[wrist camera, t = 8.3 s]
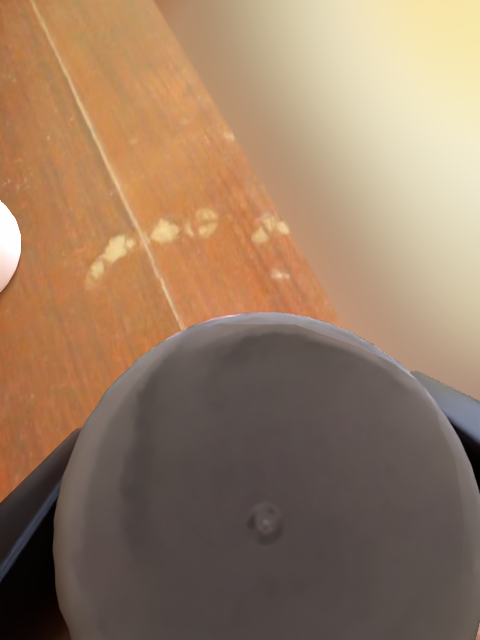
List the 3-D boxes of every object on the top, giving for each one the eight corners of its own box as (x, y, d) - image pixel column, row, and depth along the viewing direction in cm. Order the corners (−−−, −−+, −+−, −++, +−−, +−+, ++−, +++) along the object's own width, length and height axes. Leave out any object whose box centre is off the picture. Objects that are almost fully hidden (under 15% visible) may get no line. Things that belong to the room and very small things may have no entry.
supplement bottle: (381, 527, 14) (803, 777, 3) (209, 606, 14) (22, 1208, 3) (303, 359, 16) (405, 151, 5) (148, 424, 15) (-116, 352, 4)
